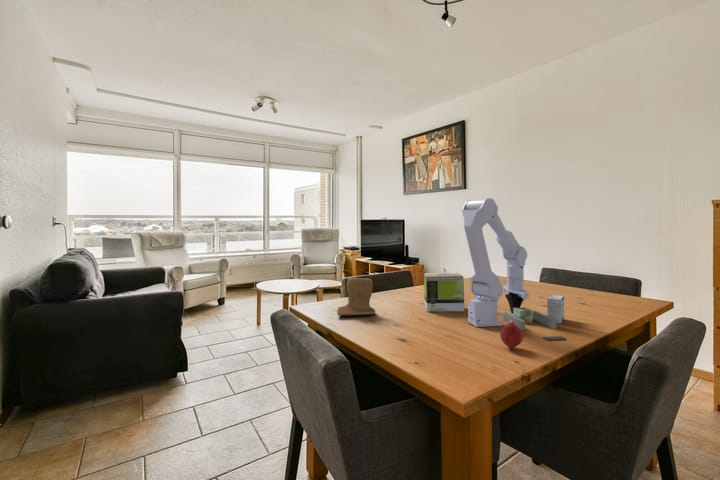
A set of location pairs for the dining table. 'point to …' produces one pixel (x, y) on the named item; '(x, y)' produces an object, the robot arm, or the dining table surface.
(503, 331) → the onion
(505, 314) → the tunnel
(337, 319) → the dining table surface
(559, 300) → the medicine box
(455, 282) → the tea box
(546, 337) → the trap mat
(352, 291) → the brown flared block
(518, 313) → the green block
